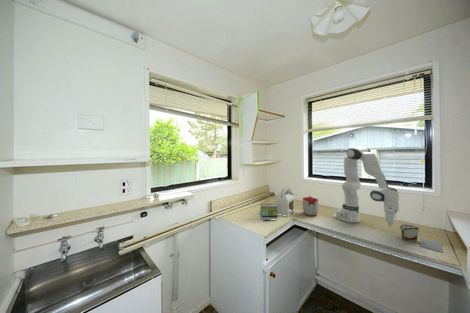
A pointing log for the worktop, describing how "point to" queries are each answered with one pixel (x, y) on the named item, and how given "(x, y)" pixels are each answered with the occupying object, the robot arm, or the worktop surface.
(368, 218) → the worktop surface
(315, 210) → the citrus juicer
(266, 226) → the worktop surface
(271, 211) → the tea box
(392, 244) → the worktop surface
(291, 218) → the worktop surface
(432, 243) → the mat
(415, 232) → the food container
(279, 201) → the gable box
